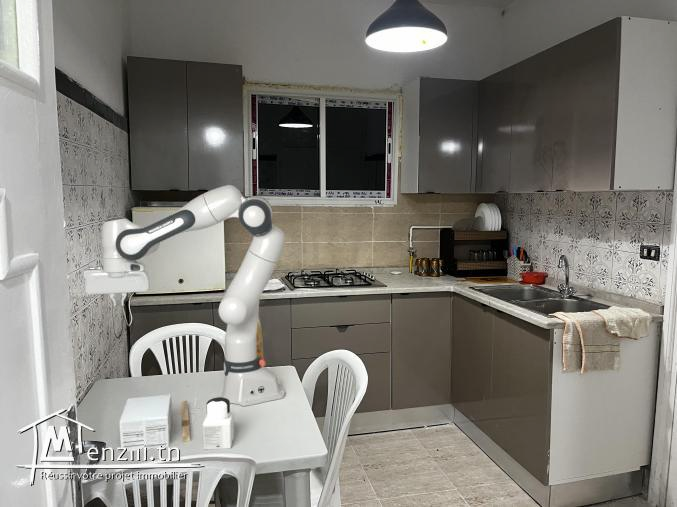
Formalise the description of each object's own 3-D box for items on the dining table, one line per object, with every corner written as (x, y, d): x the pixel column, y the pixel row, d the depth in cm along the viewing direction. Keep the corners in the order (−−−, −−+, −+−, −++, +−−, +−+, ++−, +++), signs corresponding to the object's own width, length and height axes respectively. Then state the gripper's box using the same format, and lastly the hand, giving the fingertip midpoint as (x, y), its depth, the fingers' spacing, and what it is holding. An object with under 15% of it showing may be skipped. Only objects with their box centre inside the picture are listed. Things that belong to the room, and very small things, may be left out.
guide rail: (187, 406, 171) (187, 400, 171) (190, 440, 147) (189, 433, 147) (180, 407, 171) (180, 401, 170) (182, 441, 146) (182, 435, 146)
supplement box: (128, 426, 156) (127, 398, 155) (172, 422, 160) (171, 393, 159) (119, 453, 140) (118, 421, 139) (169, 447, 143) (168, 415, 142)
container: (207, 437, 149) (206, 395, 148) (234, 436, 150) (233, 394, 148) (203, 450, 141) (201, 406, 140) (230, 449, 142) (229, 405, 141)
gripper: (81, 268, 164) (83, 309, 165) (148, 265, 170) (150, 305, 172) (84, 265, 170) (86, 306, 171) (149, 263, 176) (150, 302, 177)
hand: (119, 305), depth 171 cm, fingers closed
